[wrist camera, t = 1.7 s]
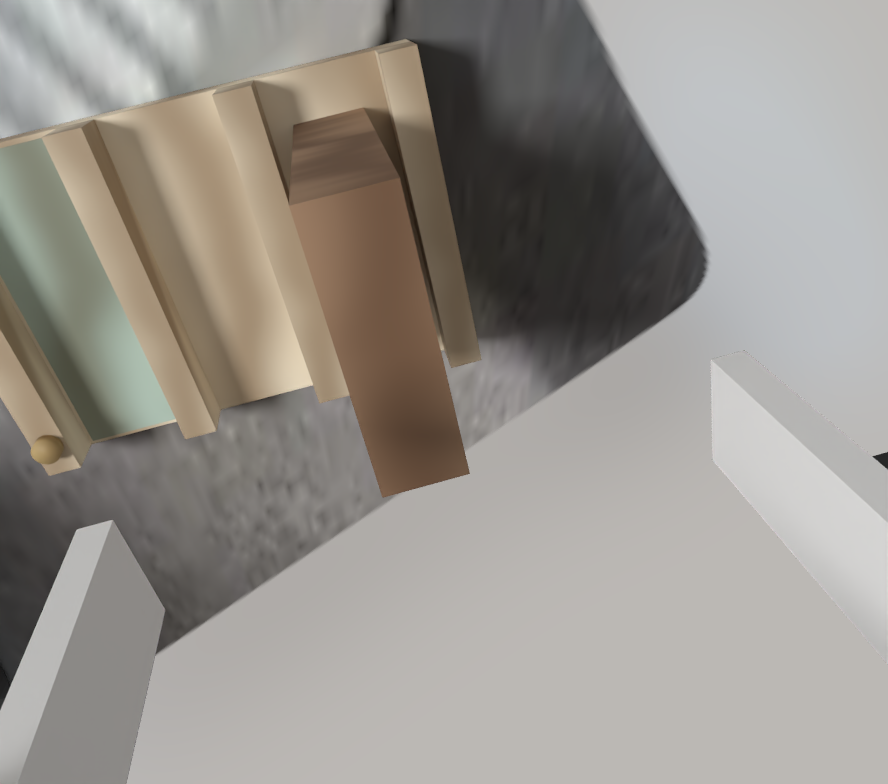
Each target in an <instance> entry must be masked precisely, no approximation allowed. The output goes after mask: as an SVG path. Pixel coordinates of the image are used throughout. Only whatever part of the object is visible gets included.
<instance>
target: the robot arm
mask: <svg viewBox="0 0 888 784" xmlns="http://www.w3.org/2000/svg"><path fill="white" fill-rule="evenodd" d="M711 404H712V460H713V461H714V462H715V464H717V466H718V467H719V468H720V469H721V471H722V472H723V473H724V474H725V475H726V476H727V477H728V479H729V480H730V481H731V482H732V483H733V485H734V486H735V487H736V488H737V489H738V490H739V491H740V493H741V494H742V495H743V496H744V497H745V499H746V500H747V501H748V502H749V503H750V504H751V506H752V507H753V508H754V509H755V510H756V512H757V513H758V514H759V515H760V516H761V517H762V518H763V520H764V521H765V522H766V523H767V524H768V525H769V527H770V528H771V529H772V530H773V531H774V533H775V534H776V535H777V536H778V537H779V538H780V539H781V541H782V542H783V543H784V544H785V545H786V547H788V549H789V550H790V551H791V552H792V553H793V555H794V556H795V557H796V558H797V559H798V560H799V562H800V563H801V564H802V565H803V566H804V568H805V569H806V570H807V571H808V572H809V573H810V575H811V576H812V577H813V578H814V579H815V580H816V582H818V584H819V585H820V586H821V587H822V588H823V590H824V591H825V592H826V593H827V594H828V596H829V597H830V598H831V599H832V600H833V601H834V602H835V604H836V605H837V606H838V607H839V608H840V610H841V611H842V612H843V613H844V614H845V615H846V617H847V618H848V619H849V620H850V621H851V623H852V624H853V625H854V626H855V627H856V628H857V630H858V631H859V632H860V633H861V634H862V635H863V637H864V638H865V639H866V640H867V641H868V642H869V644H871V646H872V647H873V648H874V649H875V651H876V652H877V653H878V654H879V655H880V656H881V658H882V659H883V660H884V661H885V662H886V663H887V664H888V452H887V453H883V454H880V455H876V456H871V455H869V454H868V453H867V452H866V451H865V450H864V449H862V448H861V447H860V446H859V445H858V444H856V443H855V442H854V441H853V440H852V439H850V438H849V437H848V436H847V435H845V434H844V433H843V432H842V431H841V430H840V429H838V428H837V427H836V426H835V425H834V424H832V423H831V422H830V421H829V420H827V419H826V418H825V417H824V416H823V415H822V414H820V413H819V412H818V411H817V410H816V409H814V408H813V407H812V406H811V405H810V404H808V403H807V402H806V401H805V400H804V399H802V398H801V397H800V396H799V395H798V394H796V393H795V392H794V391H793V390H792V389H790V388H789V387H788V386H787V385H786V384H784V383H783V382H782V381H781V380H780V379H778V378H777V377H776V376H775V375H773V374H772V373H771V372H770V371H769V370H768V369H766V368H765V367H764V366H763V365H762V364H760V363H759V362H758V361H757V360H756V359H754V358H753V357H752V356H751V355H750V354H748V353H747V352H746V351H745V350H743V351H740V352H736V353H732V354H728V355H725V356H721V357H718V358H714V359H711ZM164 614H165V608H164V607H163V605H162V603H161V602H160V600H159V598H158V596H157V595H156V593H155V591H154V590H153V588H152V586H151V584H150V583H149V581H148V579H147V578H146V576H145V574H144V572H143V571H142V569H141V567H140V565H139V564H138V562H137V560H136V559H135V557H134V555H133V553H132V552H131V550H130V548H129V547H128V545H127V543H126V541H125V540H124V538H123V536H122V535H121V533H120V531H119V529H118V528H117V526H116V524H115V523H114V521H113V520H110V521H106V522H103V523H99V524H95V525H91V526H88V527H84V528H80V529H77V530H76V532H75V535H74V537H73V539H72V542H71V544H70V546H69V549H68V551H67V554H66V556H65V558H64V561H63V563H62V565H61V568H60V570H59V572H58V575H57V577H56V580H55V582H54V584H53V587H52V589H51V591H50V594H49V596H48V599H47V601H46V603H45V606H44V608H43V610H42V613H41V615H40V618H39V620H38V622H37V625H36V627H35V629H34V632H33V634H32V636H31V639H30V641H29V644H28V646H27V648H26V651H25V653H24V655H23V658H22V660H21V663H20V665H19V667H18V670H17V672H16V674H15V677H14V679H13V681H12V684H11V686H9V683H8V680H7V678H6V676H5V674H4V672H3V670H2V669H1V667H0V784H126V783H127V778H128V774H129V769H130V764H131V760H132V756H133V751H134V747H135V743H136V738H137V734H138V729H139V724H140V720H141V716H142V711H143V707H144V703H145V698H146V694H147V689H148V685H149V680H150V676H151V671H152V667H153V663H154V658H155V654H156V649H157V645H158V641H159V636H160V632H161V627H162V623H163V618H164Z"/></svg>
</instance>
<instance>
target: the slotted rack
mask: <svg viewBox="0 0 888 784" xmlns="http://www.w3.org/2000/svg"><path fill="white" fill-rule="evenodd" d="M359 108H364V110H365V112H366V114H367V115H368V117H369V119H370V121H371V123H372V125H373V127H374V129H375V131H376V133H377V135H378V137H379V138H380V140H381V142H382V144H383V146H384V148H385V150H386V152H387V154H388V156H389V158H390V160H391V162H392V163H393V165H394V167H395V169H396V171H397V173H398V175H399V177H400V180H401V185H402V189H403V193H404V197H405V202H406V206H407V210H408V214H409V219H410V223H411V227H412V231H413V235H414V240H415V244H416V248H417V252H418V257H419V261H420V265H421V269H422V274H423V278H424V282H425V286H426V291H427V295H428V299H429V303H430V307H431V312H432V316H433V320H434V324H435V329H436V333H437V337H438V341H439V346H440V350H441V351H442V350H445V353H446V355H447V358H448V361H449V363H450V366H451V368H453V367H457V366H461V365H464V364H468V363H472V362H476V361H479V360H481V355H480V350H479V345H478V340H477V335H476V330H475V325H474V321H473V316H472V311H471V306H470V301H469V296H468V291H467V286H466V281H465V276H464V272H463V267H462V262H461V257H460V252H459V247H458V242H457V237H456V232H455V228H454V223H453V218H452V213H451V208H450V203H449V198H448V193H447V188H446V184H445V179H444V174H443V169H442V164H441V159H440V154H439V149H438V144H437V139H436V135H435V130H434V125H433V120H432V115H431V110H430V105H429V100H428V95H427V91H426V86H425V81H424V76H423V71H422V66H421V61H420V56H419V51H418V47H417V44H415V43H413V42H411V41H409V40H407V39H404V40H400V41H396V42H392V43H388V44H384V45H379V46H375V47H371V48H367V49H363V50H359V51H355V52H351V53H347V54H343V55H339V56H335V57H331V58H327V59H323V60H319V61H315V62H310V63H306V64H302V65H298V66H294V67H290V68H286V69H282V70H278V71H274V72H270V73H266V74H262V75H258V76H254V77H250V78H246V79H241V80H237V81H233V82H229V83H225V84H221V85H217V86H213V87H209V88H205V89H201V90H197V91H193V92H189V93H185V94H181V95H177V96H172V97H168V98H164V99H160V100H156V101H152V102H148V103H144V104H140V105H136V106H132V107H128V108H124V109H120V110H116V111H112V112H108V113H103V114H99V115H95V116H91V117H87V118H83V119H79V120H75V121H71V122H67V123H63V124H59V125H55V126H51V127H47V128H43V129H39V130H34V131H30V132H26V133H22V134H18V135H14V136H10V137H6V138H2V139H0V397H1V399H2V401H3V402H4V404H5V405H6V407H7V409H8V410H9V412H10V413H11V415H12V417H13V418H14V420H15V422H16V423H17V425H18V426H19V428H20V430H21V431H22V433H23V435H24V436H25V438H26V439H27V441H28V443H29V444H30V446H31V455H32V457H33V458H34V460H36V461H37V462H39V463H41V464H42V465H43V467H44V469H45V470H46V472H47V473H48V475H49V476H51V475H55V474H58V473H62V472H66V471H69V470H73V469H77V468H81V466H82V464H83V461H84V459H85V457H86V455H87V453H88V451H89V448H90V446H91V444H94V443H98V442H102V441H105V440H109V439H113V438H117V437H120V436H124V435H128V434H132V433H135V432H139V431H143V430H147V429H150V428H154V427H158V426H162V425H165V424H169V423H173V422H177V423H178V425H179V427H180V429H181V431H182V433H183V435H184V437H185V439H189V438H192V437H196V436H200V435H204V434H207V433H211V432H215V431H217V426H218V421H219V416H220V411H221V410H222V409H225V408H229V407H233V406H236V405H240V404H244V403H248V402H251V401H255V400H259V399H263V398H266V397H270V396H274V395H278V394H281V393H285V392H289V391H293V390H296V389H300V388H304V387H308V386H311V385H313V386H314V389H315V392H316V394H317V397H318V400H319V403H323V402H326V401H330V400H334V399H338V398H341V397H345V396H349V395H350V394H349V391H348V388H347V385H346V382H345V379H344V376H343V373H342V370H341V366H340V363H339V360H338V357H337V354H336V351H335V348H334V345H333V342H332V338H331V335H330V332H329V329H328V326H327V323H326V320H325V317H324V314H323V310H322V307H321V304H320V301H319V298H318V295H317V292H316V289H315V286H314V282H313V279H312V276H311V273H310V270H309V267H308V264H307V261H306V258H305V254H304V251H303V248H302V245H301V242H300V239H299V236H298V233H297V230H296V226H295V223H294V220H293V217H292V214H291V211H290V208H289V195H290V177H291V159H292V142H293V125H295V124H299V123H303V122H307V121H311V120H315V119H319V118H323V117H327V116H331V115H335V114H339V113H343V112H347V111H351V110H355V109H359Z"/></svg>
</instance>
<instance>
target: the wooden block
mask: <svg viewBox="0 0 888 784" xmlns="http://www.w3.org/2000/svg"><path fill="white" fill-rule="evenodd" d="M289 208H290V211H291V214H292V217H293V220H294V223H295V226H296V230H297V233H298V236H299V239H300V242H301V245H302V248H303V251H304V254H305V258H306V261H307V264H308V267H309V270H310V273H311V276H312V279H313V282H314V286H315V289H316V292H317V295H318V298H319V301H320V304H321V307H322V310H323V314H324V317H325V320H326V323H327V326H328V329H329V332H330V335H331V338H332V342H333V345H334V348H335V351H336V354H337V357H338V360H339V363H340V366H341V370H342V373H343V376H344V379H345V382H346V385H347V388H348V391H349V394H350V398H351V401H352V404H353V407H354V410H355V413H356V416H357V419H358V422H359V426H360V429H361V432H362V435H363V438H364V441H365V444H366V447H367V450H368V454H369V457H370V460H371V463H372V466H373V469H374V472H375V475H376V478H377V482H378V485H379V488H380V491H381V494H382V497H387V496H390V495H394V494H398V493H401V492H405V491H409V490H412V489H416V488H419V487H423V486H426V485H430V484H434V483H438V482H441V481H445V480H448V479H452V478H455V477H459V476H463V475H466V474H470V473H469V469H468V464H467V460H466V456H465V452H464V447H463V443H462V439H461V435H460V430H459V426H458V422H457V418H456V413H455V409H454V405H453V401H452V396H451V392H450V388H449V384H448V380H447V375H446V371H445V367H444V363H443V358H442V354H441V350H440V346H439V341H438V337H437V333H436V329H435V324H434V320H433V316H432V312H431V307H430V303H429V299H428V295H427V291H426V286H425V282H424V278H423V274H422V269H421V265H420V261H419V257H418V252H417V248H416V244H415V240H414V235H413V231H412V227H411V223H410V219H409V214H408V210H407V206H406V202H405V197H404V193H403V189H402V185H401V180H400V177H399V175H398V173H397V171H396V169H395V167H394V165H393V163H392V162H391V160H390V158H389V156H388V154H387V152H386V150H385V148H384V146H383V144H382V142H381V140H380V138H379V137H378V135H377V133H376V131H375V129H374V127H373V125H372V123H371V121H370V119H369V117H368V115H367V114H366V112H365V110H364V108H359V109H355V110H351V111H347V112H343V113H339V114H335V115H331V116H327V117H323V118H319V119H315V120H311V121H307V122H303V123H299V124H295V125H293V142H292V159H291V177H290V195H289Z"/></svg>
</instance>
